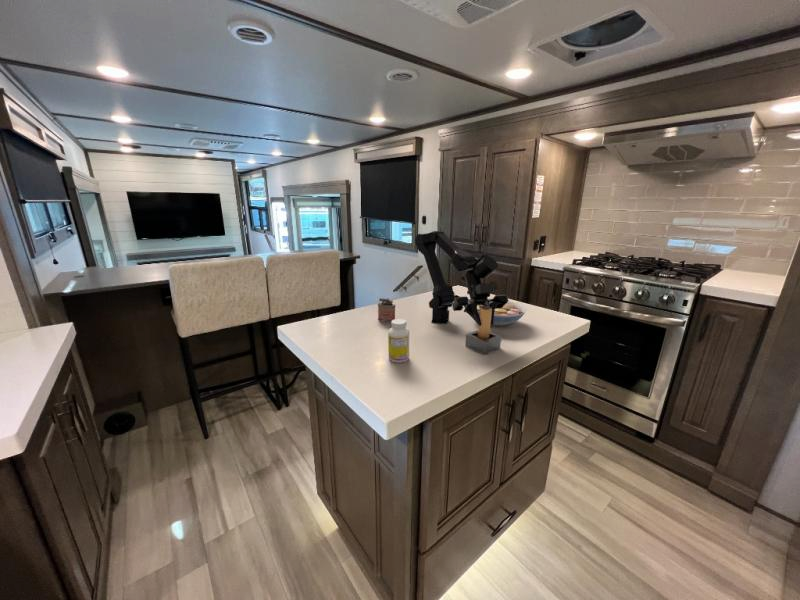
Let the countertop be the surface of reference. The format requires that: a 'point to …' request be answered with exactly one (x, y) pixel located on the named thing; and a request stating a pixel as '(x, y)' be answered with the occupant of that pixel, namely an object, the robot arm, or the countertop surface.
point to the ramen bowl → (507, 313)
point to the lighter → (386, 310)
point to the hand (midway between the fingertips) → (486, 324)
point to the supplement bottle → (398, 341)
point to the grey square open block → (483, 342)
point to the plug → (484, 321)
